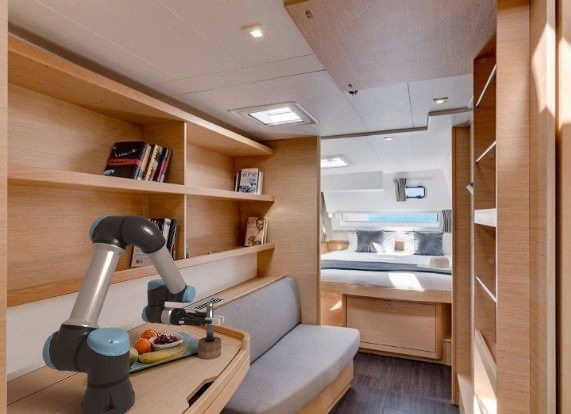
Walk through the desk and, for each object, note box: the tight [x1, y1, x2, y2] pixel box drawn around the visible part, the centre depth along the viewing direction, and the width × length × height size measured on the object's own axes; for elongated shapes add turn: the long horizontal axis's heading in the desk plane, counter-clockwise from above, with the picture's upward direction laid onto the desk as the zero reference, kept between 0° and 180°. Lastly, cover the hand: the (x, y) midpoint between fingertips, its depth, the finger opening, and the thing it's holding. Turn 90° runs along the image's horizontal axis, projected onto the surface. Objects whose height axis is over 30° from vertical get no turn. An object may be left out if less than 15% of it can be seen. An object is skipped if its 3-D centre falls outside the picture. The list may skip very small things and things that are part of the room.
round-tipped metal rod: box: [205, 301, 215, 343], centre depth 140 cm, size 3×3×18 cm
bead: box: [197, 336, 222, 361], centre depth 139 cm, size 10×10×6 cm
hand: (221, 320), depth 138 cm, fingers closed on round-tipped metal rod, 3 cm apart
